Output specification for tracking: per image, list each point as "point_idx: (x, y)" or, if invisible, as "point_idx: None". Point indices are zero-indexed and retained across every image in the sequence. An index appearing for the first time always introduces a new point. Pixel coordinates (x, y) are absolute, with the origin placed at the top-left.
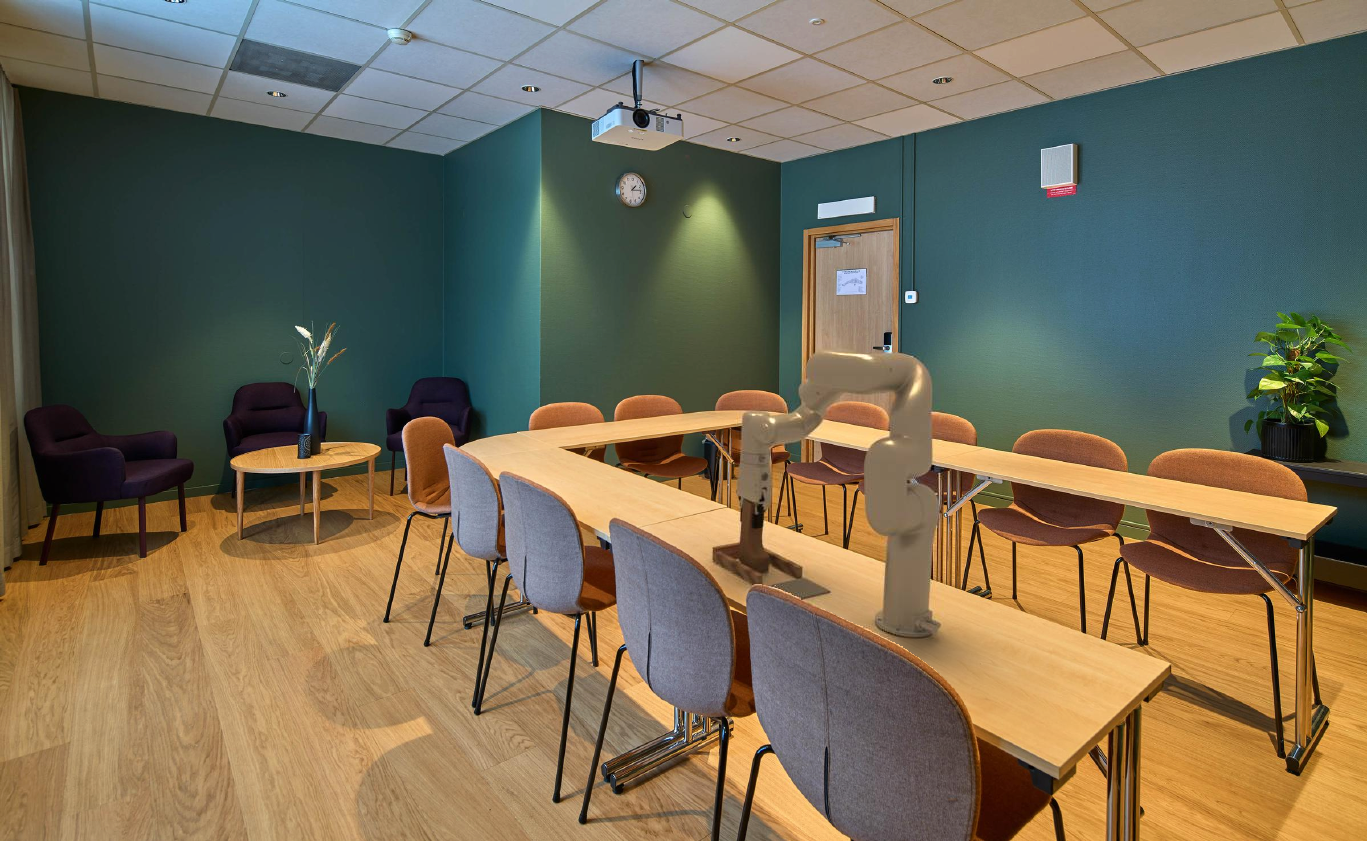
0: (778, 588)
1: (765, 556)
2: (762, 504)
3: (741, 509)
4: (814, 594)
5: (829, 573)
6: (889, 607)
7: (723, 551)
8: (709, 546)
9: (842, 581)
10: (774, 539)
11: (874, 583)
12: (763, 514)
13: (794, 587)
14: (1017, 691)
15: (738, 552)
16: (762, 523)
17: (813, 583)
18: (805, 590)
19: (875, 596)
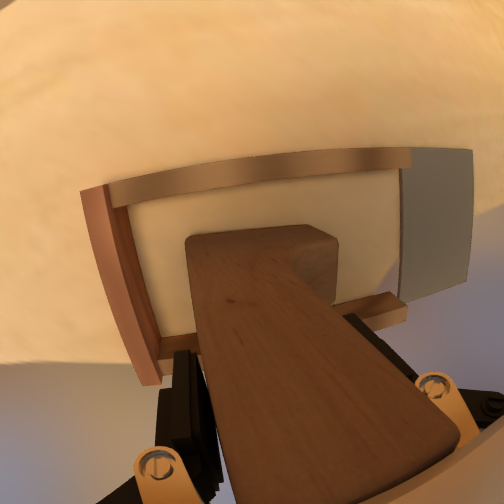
0: (424, 263)
1: (335, 258)
2: (459, 443)
3: (216, 482)
4: (473, 198)
5: (379, 50)
6: None
7: (152, 346)
8: (23, 308)
9: (431, 69)
10: (12, 64)
11: (448, 24)
12: (405, 369)
13: (436, 219)
14: None
15: (135, 277)
16: (383, 341)
17: (436, 154)
18: (455, 204)
19: (492, 84)
